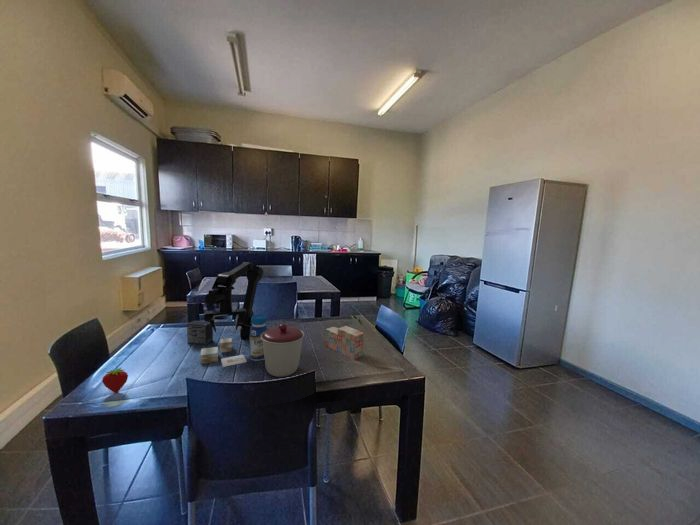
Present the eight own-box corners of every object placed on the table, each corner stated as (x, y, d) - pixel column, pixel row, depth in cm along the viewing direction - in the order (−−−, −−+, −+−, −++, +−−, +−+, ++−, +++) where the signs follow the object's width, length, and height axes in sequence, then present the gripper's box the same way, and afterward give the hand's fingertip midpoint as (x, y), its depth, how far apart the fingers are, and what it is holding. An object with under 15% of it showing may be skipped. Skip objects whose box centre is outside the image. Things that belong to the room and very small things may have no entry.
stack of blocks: (324, 345, 153) (325, 323, 151) (333, 342, 157) (334, 320, 155) (354, 360, 138) (355, 335, 136) (362, 356, 143) (364, 332, 141)
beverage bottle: (262, 351, 142) (262, 312, 139) (271, 357, 136) (271, 317, 134) (246, 356, 136) (246, 315, 134) (254, 363, 130) (254, 320, 128)
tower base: (218, 354, 137) (218, 346, 136) (218, 361, 130) (217, 353, 130) (201, 356, 134) (201, 348, 133) (200, 363, 128) (200, 355, 127)
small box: (213, 340, 153) (213, 321, 151) (206, 345, 146) (206, 325, 145) (195, 338, 154) (194, 319, 152) (186, 343, 147) (186, 323, 146)
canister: (305, 361, 134) (307, 317, 131) (300, 382, 116) (301, 332, 113) (266, 360, 134) (267, 316, 131) (254, 381, 116) (254, 331, 113)
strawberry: (109, 388, 107) (107, 362, 105) (132, 386, 108) (130, 361, 107) (98, 397, 101) (96, 371, 100) (123, 396, 103) (121, 369, 101)
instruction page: (243, 354, 138) (243, 354, 138) (246, 362, 131) (246, 361, 131) (220, 359, 132) (220, 358, 132) (223, 367, 126) (223, 366, 126)
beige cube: (231, 347, 146) (231, 337, 145) (231, 351, 141) (231, 341, 140) (220, 348, 144) (220, 339, 143) (220, 352, 139) (220, 343, 138)
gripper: (244, 294, 150) (245, 323, 152) (204, 297, 142) (205, 327, 145) (246, 300, 140) (246, 331, 142) (203, 303, 132) (204, 335, 135)
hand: (225, 331), depth 141 cm, fingers open, 9 cm apart
